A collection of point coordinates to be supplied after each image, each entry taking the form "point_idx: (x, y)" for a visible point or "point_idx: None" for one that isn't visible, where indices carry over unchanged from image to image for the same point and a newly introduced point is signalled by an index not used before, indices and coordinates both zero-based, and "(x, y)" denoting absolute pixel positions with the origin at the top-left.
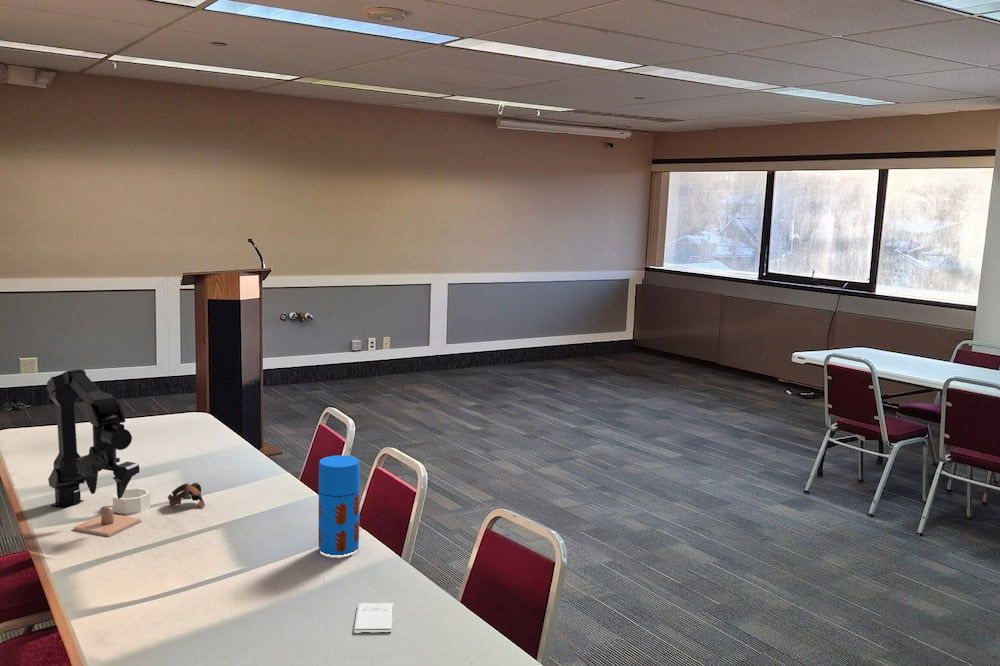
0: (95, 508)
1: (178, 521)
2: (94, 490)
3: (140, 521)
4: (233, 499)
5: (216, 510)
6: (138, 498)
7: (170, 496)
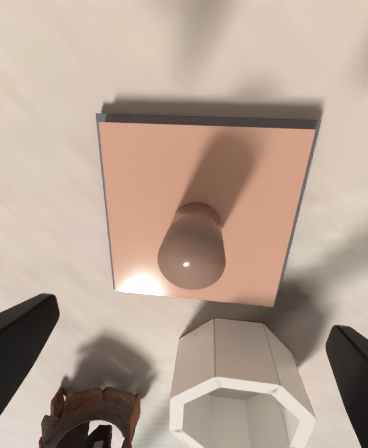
0: None
1: None
2: (340, 368)
3: None
4: None
5: (25, 390)
6: (174, 394)
7: (117, 426)
